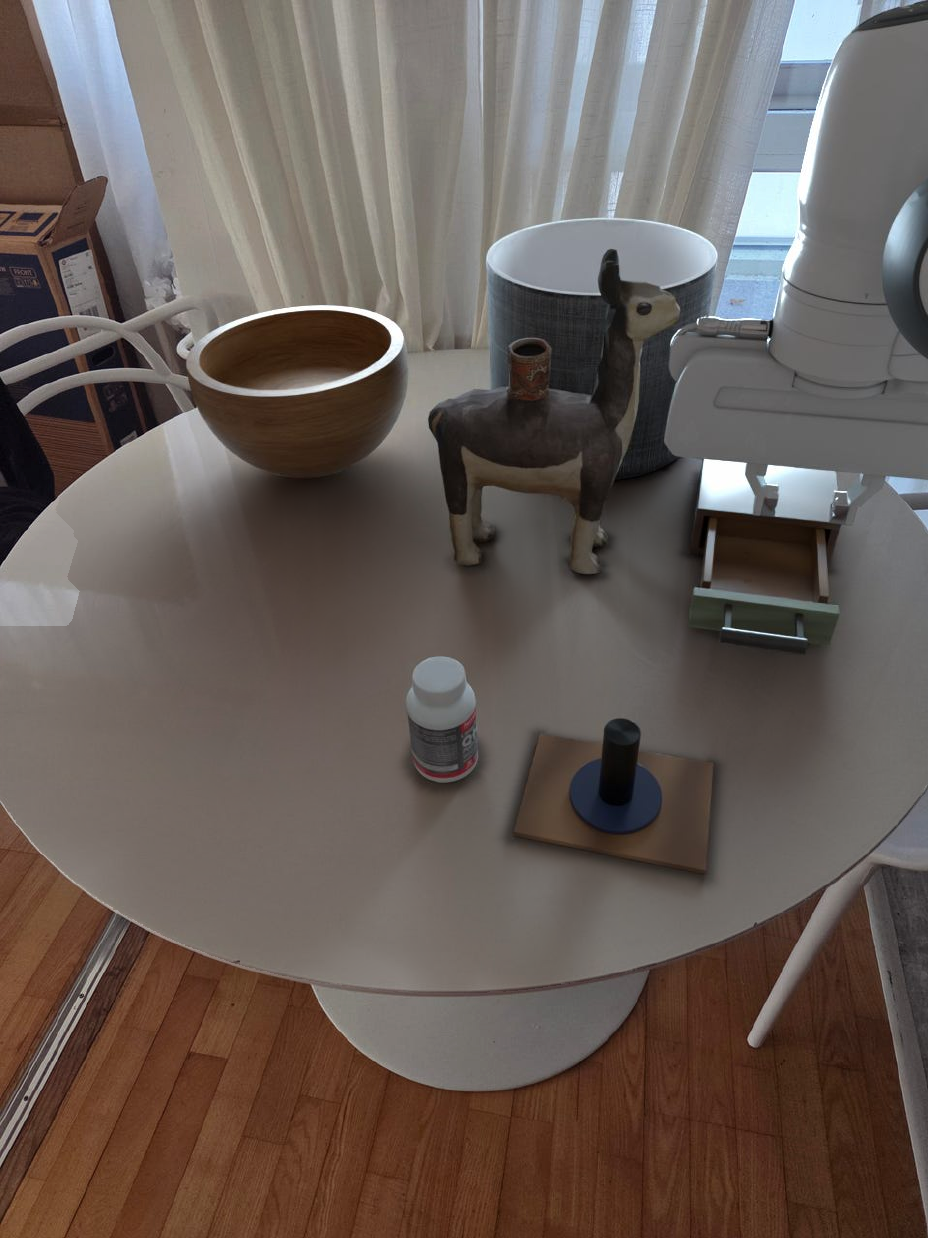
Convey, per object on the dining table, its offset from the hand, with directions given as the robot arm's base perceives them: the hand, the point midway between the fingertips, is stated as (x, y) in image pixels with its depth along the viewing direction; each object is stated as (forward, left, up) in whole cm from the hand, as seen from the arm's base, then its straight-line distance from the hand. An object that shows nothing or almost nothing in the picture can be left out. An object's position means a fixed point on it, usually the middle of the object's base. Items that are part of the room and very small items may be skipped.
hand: (801, 516), depth 61 cm
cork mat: (+10, +13, -19) cm, 25 cm away
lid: (+10, +13, -19) cm, 25 cm away
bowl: (+53, -30, -19) cm, 64 cm away
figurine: (+22, -18, -19) cm, 34 cm away
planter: (+21, -44, -19) cm, 52 cm away
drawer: (0, -12, -18) cm, 22 cm away
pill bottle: (+24, +12, -19) cm, 33 cm away
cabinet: (0, -28, -19) cm, 34 cm away
